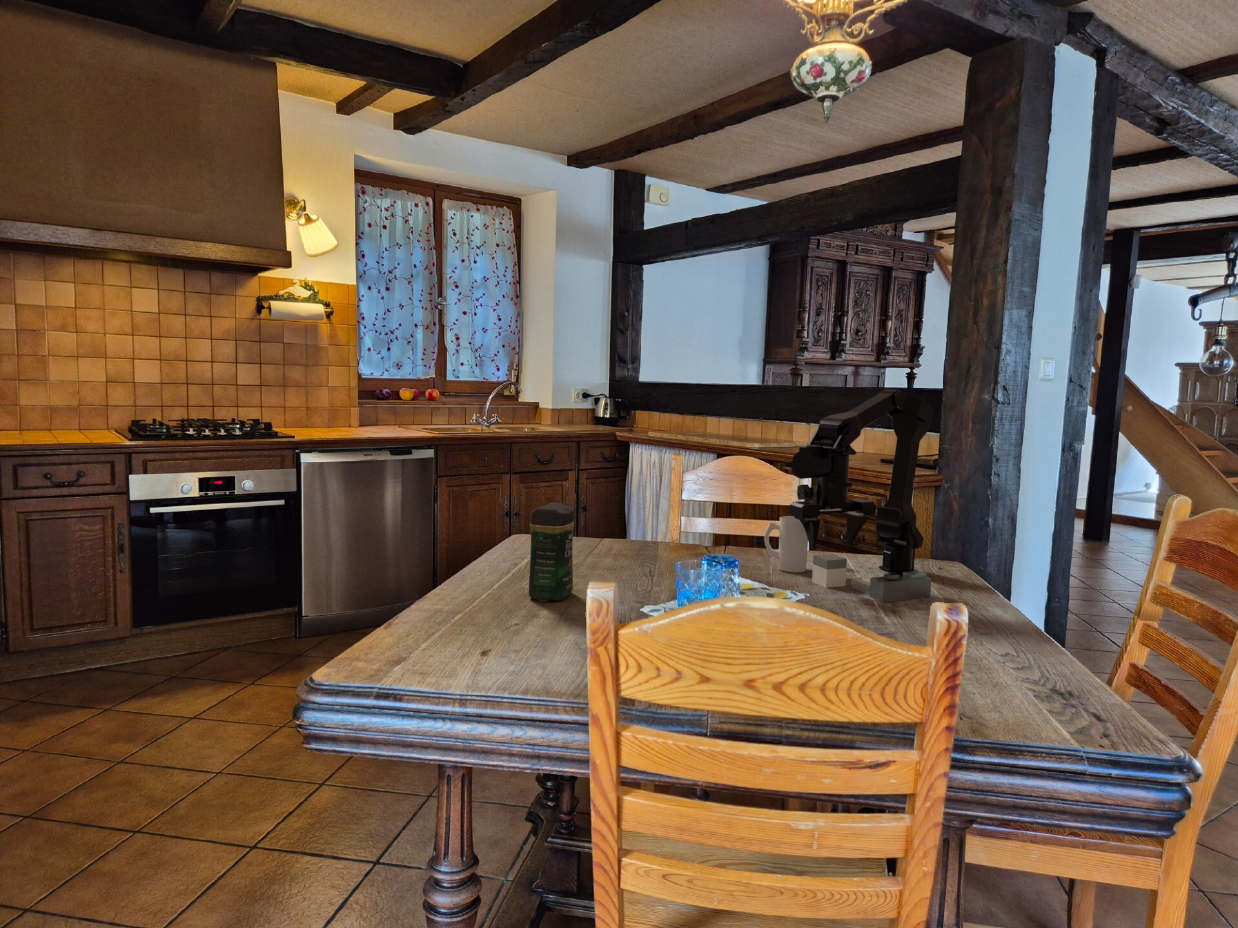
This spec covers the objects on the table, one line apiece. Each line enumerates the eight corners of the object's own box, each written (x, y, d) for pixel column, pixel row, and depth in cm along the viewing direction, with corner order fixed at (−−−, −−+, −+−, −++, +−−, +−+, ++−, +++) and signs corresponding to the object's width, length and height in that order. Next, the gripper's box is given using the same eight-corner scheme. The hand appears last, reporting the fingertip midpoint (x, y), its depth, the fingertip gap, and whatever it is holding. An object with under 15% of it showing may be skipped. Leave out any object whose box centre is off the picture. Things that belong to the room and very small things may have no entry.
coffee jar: (561, 604, 146) (562, 509, 144) (523, 600, 149) (524, 506, 146) (578, 591, 156) (579, 501, 154) (541, 587, 158) (542, 499, 156)
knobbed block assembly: (847, 587, 163) (849, 565, 162) (893, 583, 167) (894, 561, 166) (882, 602, 152) (883, 578, 152) (930, 597, 156) (931, 574, 156)
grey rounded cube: (831, 580, 169) (832, 553, 168) (845, 586, 164) (846, 558, 163) (812, 581, 167) (813, 555, 166) (825, 587, 162) (827, 560, 162)
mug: (806, 567, 180) (809, 516, 179) (807, 573, 174) (810, 522, 172) (763, 564, 182) (765, 514, 181) (762, 570, 176) (764, 519, 174)
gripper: (847, 470, 174) (843, 537, 175) (776, 472, 167) (773, 542, 169) (879, 476, 163) (875, 548, 165) (805, 479, 157) (802, 553, 159)
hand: (830, 547), depth 165 cm, fingers open, 9 cm apart
